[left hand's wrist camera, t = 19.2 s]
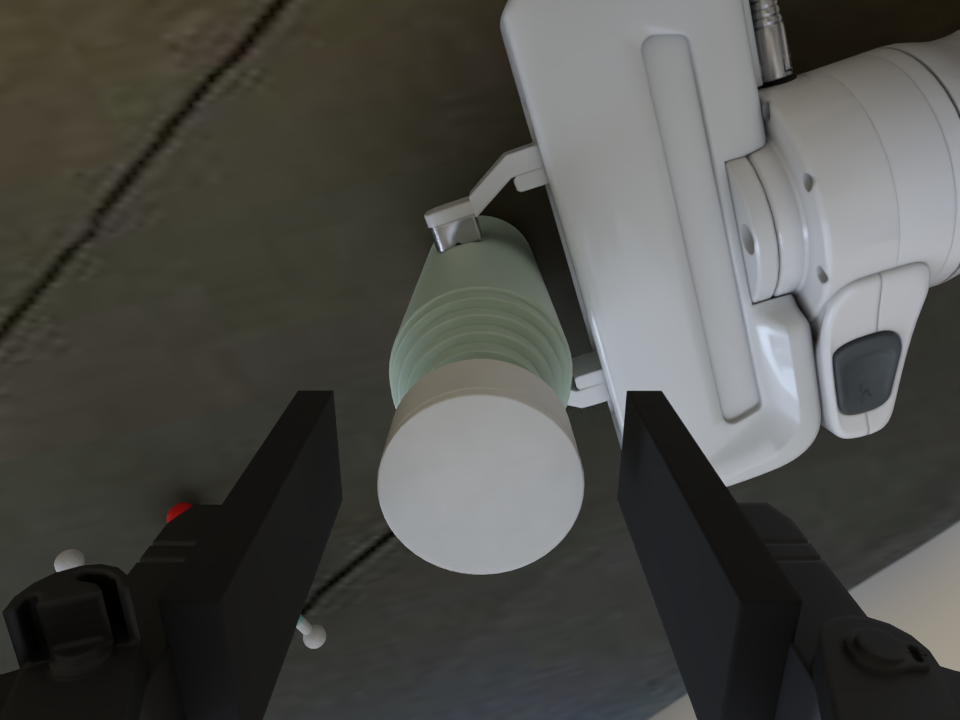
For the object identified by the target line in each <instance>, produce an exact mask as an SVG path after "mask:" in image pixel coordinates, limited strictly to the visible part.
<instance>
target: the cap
mask: <svg viewBox="0 0 960 720" xmlns="http://www.w3.org/2000/svg"><path fill="white" fill-rule="evenodd" d="M377 489H378V497H379V502H380V506H381V509H382V512H383V515H384V517H385V519H386V521H387V523H388V525H389V526H390V528H391V529H392V531H393V532H394V534H395V535H396V536H397V538H398V539H399V540H400V541H401V542H402V543H403V544H404V545H405V546H406V547H407V548H409V549H410V550H411V551H412V552H413V553H415V554H416V555H418V556H419V557H421V558H422V559H424V560H426V561H428V562H430V563H432V564H434V565H436V566H439V567H442V568H445V569H447V570H451V571H456V572H460V573H468V574H494V573H501V572H506V571H511V570H514V569H517V568H520V567H523V566H525V565H528V564H530V563H532V562H534V561H536V560H538V559H539V558H541V557H542V556H544V555H546V554H547V553H548V552H549V551H551V550H552V549H553V548H554V547H556V546H557V545H558V544H559V543H560V541H561V540H562V539H563V538H564V537H565V536H566V534H567V533H568V532H569V530H570V529H571V527H572V526H573V524H574V522H575V520H576V518H577V516H578V513H579V511H580V508H581V505H582V500H583V496H584V471H583V467H582V463H581V459H580V455H579V452H578V449H577V445H576V442H575V438H574V435H573V432H572V428H571V425H570V421H569V418H568V416H567V413H566V410H565V408H564V406H563V404H562V403H561V401H560V399H559V398H558V396H557V395H556V394H555V393H554V391H553V390H552V389H551V388H550V387H549V386H548V385H547V384H546V383H545V382H544V381H543V380H541V379H540V378H539V377H537V376H536V375H535V374H533V373H531V372H530V371H528V370H526V369H524V368H522V367H519V366H517V365H514V364H512V363H508V362H504V361H500V360H493V359H469V360H462V361H458V362H454V363H450V364H447V365H445V366H442V367H439V368H438V369H436V370H434V371H432V372H430V373H428V374H427V375H426V376H424V377H423V378H421V379H420V380H419V381H418V382H417V383H416V384H414V385H413V386H412V387H411V388H410V390H409V391H408V392H407V393H406V394H405V396H404V397H403V399H402V400H401V402H400V404H399V405H398V407H397V410H396V412H395V414H394V417H393V420H392V424H391V427H390V430H389V434H388V437H387V441H386V444H385V447H384V451H383V454H382V458H381V461H380V465H379V469H378V478H377Z"/></svg>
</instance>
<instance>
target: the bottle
mask: <svg viewBox="0 0 960 720" xmlns="http://www.w3.org/2000/svg"><path fill="white" fill-rule="evenodd" d="M477 218H478V221H479V225H480V228H481V231H482V234H481V235H482V239H480V240H477V241H474V242H471V243H466V244H461V243H457V244H456V246H455V247H453V248H451V249H449V250H447V251H443V252H437V249H436V247H435V244H434V243H433V245H432V247H431V249H430V252H429V254H428V257H427V260H426V262H425V265H424V267H423V270H422V272H421V275H420V278H419V280H418V283H417V285H416V288H415V290H414V293H413V296H412V298H411V301H410V303H409V306H408V308H407V311H406V314H405V316H404V319H403V321H402V324H401V326H400V329H399V332H398V334H397V337H396V339H395V342H394V345H393V348H392V351H391V356H390V362H389V379H390V386H391V392H392V397H393V401H394V405H395V408H396V410H397V407H398V405H399V404H400V402H401V400H402V399H403V397H404V396H405V394H406V393H407V392H408V391H409V390H410V388H411V387H412V386H413V385H414V384H416V383H417V382H418V381H419V380H420V379H421V378H423V377H424V376H426V375H427V374H428V373H430V372H432V371H434V370H436V369H438V368H439V367H442V366H445V365H447V364H450V363H454V362H458V361H462V360H469V359H493V360H500V361H504V362H508V363H512V364H514V365H517V366H519V367H522V368H524V369H526V370H528V371H530V372H531V373H533V374H535V375H536V376H537V377H539V378H540V379H541V380H543V381H544V382H545V383H546V384H547V385H548V386H549V387H550V388H551V389H552V390H553V391H554V393H555V394H556V395H557V396H558V398H559V399H560V401H561V403H562V404H563V406H564V408H565V409H566V407H567V403H568V400H569V396H570V389H571V384H572V376H573V374H572V359H571V353H570V349H569V346H568V343H567V340H566V338H565V335H564V332H563V330H562V327H561V325H560V322H559V320H558V317H557V314H556V312H555V309H554V307H553V304H552V302H551V299H550V296H549V294H548V291H547V289H546V286H545V284H544V281H543V278H542V276H541V273H540V271H539V268H538V266H537V263H536V261H535V258H534V255H533V253H532V250H531V248H530V246H529V244H528V242H527V241H526V239H525V237H524V236H523V235H522V234H521V233H520V232H519V231H518V230H517V229H516V228H515V227H514V226H512V225H511V224H509V223H507V222H505V221H504V220H501V219H498V218H495V217H491V216H477Z"/></svg>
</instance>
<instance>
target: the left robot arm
mask: <svg viewBox="0 0 960 720" xmlns="http://www.w3.org/2000/svg"><path fill="white" fill-rule="evenodd" d="M341 502H342V487H341V476H340V464H339V452H338V440H337V429H336V417H335V405H334V393H333V391H298V392H297V393H296V395H295V396H294V398H293V399H292V401H291V402H290V404H289V405H288V407H287V408H286V410H285V411H284V413H283V414H282V416H281V417H280V419H279V420H278V422H277V423H276V425H275V426H274V428H273V429H272V431H271V432H270V434H269V435H268V437H267V438H266V440H265V441H264V443H263V444H262V446H261V447H260V449H259V450H258V452H257V453H256V455H255V456H254V458H253V459H252V461H251V462H250V464H249V465H248V467H247V468H246V470H245V471H244V472H243V474H242V475H241V477H240V478H239V480H238V481H237V483H236V484H235V486H234V487H233V489H232V490H231V492H230V493H229V495H228V496H227V498H226V499H225V501H224V502H223V504H222V505H193V506H191V507H190V508H188V509H187V510H185V511H184V512H182V513H181V514H180V515H178V516H177V517H175V518H174V519H172V520H171V521H169V522H168V523H167V525H166V526H165V527H164V529H163V530H162V531H161V532H160V534H159V535H158V536H157V538H156V539H155V540H154V541H153V546H150V547H149V548H148V549H147V551H146V552H145V553H144V554H143V556H142V557H141V558H140V563H136V565H135V566H134V567H133V569H132V570H131V571H130V572H129V574H128V575H126V574H125V573H124V572H123V571H121V570H120V569H119V568H118V567H113V566H108V565H103V564H97V565H84V566H78V567H74V568H70V569H67V570H63V571H60V572H56V573H54V574H52V575H50V576H48V577H46V578H43V579H41V580H39V581H37V582H35V583H33V584H32V585H30V586H29V587H28V588H26V589H25V590H24V591H22V592H21V593H19V594H18V595H17V596H15V597H14V598H13V600H12V601H11V602H10V603H9V605H8V606H7V607H6V608H5V610H4V611H3V612H2V613H3V616H4V619H5V622H6V625H7V628H8V631H9V635H10V638H11V641H12V644H13V647H14V650H15V653H16V657H17V660H18V663H19V666H20V669H19V670H15V671H12V672H9V673H5V674H1V675H0V720H263V717H264V714H265V712H266V709H267V706H268V703H269V701H270V698H271V695H272V692H273V689H274V687H275V684H276V681H277V678H278V676H279V673H280V670H281V667H282V665H283V662H284V659H285V656H286V654H287V651H288V648H289V645H290V643H291V640H292V637H293V634H294V632H295V629H296V626H297V623H298V621H299V618H300V615H301V612H302V609H303V607H304V604H305V601H306V598H307V596H308V593H309V590H310V587H311V585H312V582H313V579H314V576H315V574H316V571H317V568H318V565H319V563H320V560H321V557H322V554H323V552H324V549H325V546H326V543H327V541H328V538H329V535H330V532H331V529H332V527H333V524H334V521H335V518H336V516H337V513H338V510H339V507H340V505H341ZM618 502H619V505H620V507H621V510H622V513H623V516H624V518H625V521H626V524H627V527H628V529H629V532H630V535H631V538H632V541H633V543H634V546H635V549H636V552H637V554H638V557H639V560H640V563H641V565H642V568H643V571H644V574H645V576H646V579H647V582H648V585H649V587H650V590H651V593H652V596H653V598H654V601H655V604H656V607H657V609H658V612H659V615H660V618H661V621H662V623H663V626H664V629H665V632H666V634H667V637H668V640H669V643H670V645H671V648H672V651H673V654H674V656H675V659H676V662H677V665H678V667H679V670H680V673H681V676H682V678H683V681H684V684H685V687H686V689H687V692H688V695H689V698H690V700H691V703H692V706H693V709H694V712H695V714H696V717H697V720H960V672H958V671H954V670H951V669H947V668H944V667H941V666H939V664H938V663H937V661H936V660H935V658H934V657H933V655H932V654H931V652H930V651H929V650H928V649H927V648H926V647H924V646H923V645H922V644H921V643H920V642H918V641H917V640H916V639H915V638H914V637H912V636H911V635H909V634H907V633H906V632H904V631H902V630H900V629H898V628H896V627H894V626H892V625H891V624H888V623H885V622H882V621H879V620H876V619H872V618H869V617H867V616H866V614H865V613H864V612H863V611H862V609H861V608H860V607H859V605H858V604H857V603H856V602H855V600H854V599H853V598H852V597H851V595H850V594H849V593H848V591H847V590H846V589H845V588H844V586H843V585H842V584H841V582H840V581H839V580H838V579H837V577H836V576H835V575H834V573H833V572H832V571H831V570H830V568H829V567H828V566H827V564H826V563H825V562H824V561H821V560H820V555H819V554H818V553H817V552H816V550H815V549H814V548H813V546H812V545H811V544H808V543H807V539H806V537H805V536H804V535H803V534H802V532H801V531H800V530H799V528H798V527H797V526H796V525H795V523H794V522H793V521H792V520H791V519H790V518H788V517H787V516H785V515H784V514H782V513H781V512H779V511H778V510H777V509H775V508H774V507H772V506H771V505H769V504H768V503H737V502H736V501H735V499H734V498H733V496H732V495H731V493H730V492H729V490H728V489H727V487H726V486H725V484H724V483H723V481H722V480H721V478H720V477H719V475H718V474H717V472H716V471H715V470H714V468H713V467H712V465H711V464H710V462H709V461H708V459H707V458H706V456H705V455H704V453H703V452H702V450H701V449H700V447H699V446H698V444H697V443H696V441H695V440H694V438H693V437H692V435H691V434H690V432H689V431H688V429H687V428H686V426H685V425H684V423H683V422H682V420H681V419H680V417H679V416H678V414H677V413H676V411H675V410H674V408H673V407H672V405H671V404H670V402H669V401H668V399H667V398H666V396H665V395H664V393H663V392H662V391H627V393H626V405H625V417H624V429H623V440H622V452H621V464H620V476H619V487H618Z"/></svg>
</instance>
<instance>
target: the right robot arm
mask: <svg viewBox="0 0 960 720" xmlns="http://www.w3.org/2000/svg"><path fill="white" fill-rule="evenodd" d="M778 3H779V0H508V1H507V3H506V5H505V8H504V10H503V13H502V16H501V19H500V30H501V34H502V37H503V41H504V45H505V48H506V52H507V55H508V58H509V62H510V65H511V69H512V72H513V76H514V79H515V83H516V86H517V90H518V93H519V97H520V100H521V104H522V107H523V110H524V114H525V117H526V121H527V124H528V128H529V131H530V135H531V138H532V143H530V144H527V145H524V146H521V147H518V148H515V149H513V150H510V151H507V152H504V153H503V154H502V155H501V156H500V157H499V158H498V160H497V161H496V162H495V163H494V164H493V165H492V167H491V168H490V169H489V170H488V171H487V172H486V174H485V175H484V176H483V177H482V178H481V179H480V181H479V182H478V183H477V184H476V185H475V186H474V188H473V189H472V190H471V191H470V193H469V196H467V197H464V198H461V199H458V200H455V201H452V202H450V203H447V204H444V205H441V206H438V207H435V208H433V209H431V210H429V211H427V212H426V213H425V215H424V216H425V219H426V222H427V225H428V228H429V231H430V233H431V236H432V239H433V241H434V244H435V247H436V249H437V252H443V251H447V250H449V249H451V248H453V247H455V246H456V244H457V243H461V244H466V243H471V242H474V241H477V240H480V239H482V235H481V234H482V231H481V228H480V225H479V221H478V218H477V216H478V215H479V214H480V213H481V212H482V211H483V210H484V208H485V207H486V206H487V205H488V204H489V203H490V202H491V201H492V199H493V198H494V197H495V196H496V195H497V194H498V193H499V192H500V190H501V189H502V188H503V187H504V186H505V185H506V184H507V183H508V181H509V180H510V179H511V178H512V179H513V183H514V185H515V187H516V189H517V191H519V192H523V191H526V190H529V189H533V188H536V187H539V186H542V185H545V187H546V190H547V194H548V197H549V201H550V204H551V208H552V211H553V215H554V218H555V221H556V225H557V228H558V232H559V235H560V239H561V242H562V246H563V249H564V253H565V256H566V260H567V263H568V267H569V270H570V273H571V277H572V280H573V284H574V287H575V291H576V294H577V298H578V301H579V305H580V308H581V312H582V315H583V319H584V322H585V326H586V329H587V332H588V336H589V339H590V343H591V346H592V350H593V352H590V353H587V354H583V355H580V356H577V357H574V358H571V359H572V374H573V376H572V384H571V389H570V396H569V400H568V403H567V405H570V406H575V407H579V408H584V407H588V406H591V405H595V404H598V403H602V402H605V401H607V402H608V405H609V409H610V412H611V416H612V419H613V423H614V426H615V430H616V433H617V436H618V440H619V443H620V447H621V450H622V440H623V429H624V417H625V405H626V393H627V391H662V392H663V393H664V395H665V396H666V398H667V399H668V401H669V402H670V404H671V405H672V407H673V408H674V410H675V411H676V413H677V414H678V416H679V417H680V419H681V420H682V422H683V423H684V425H685V426H686V428H687V429H688V431H689V432H690V434H691V435H692V437H693V438H694V440H695V441H696V443H697V444H698V446H699V447H700V449H701V450H702V452H703V453H704V455H705V456H706V458H707V459H708V461H709V462H710V464H711V465H712V467H713V468H714V470H715V471H716V472H717V474H718V475H719V477H720V478H721V480H722V481H723V483H724V484H725V486H726V487H727V486H730V485H733V484H736V483H739V482H742V481H745V480H748V479H751V478H754V477H756V476H759V475H762V474H764V473H767V472H769V471H772V470H774V469H777V468H779V467H781V466H783V465H785V464H787V463H789V462H791V461H793V460H794V459H796V458H797V457H798V456H800V455H801V454H802V453H803V452H804V451H806V450H807V449H808V448H809V446H810V445H811V444H812V442H813V441H814V440H815V438H816V436H817V434H818V431H819V428H820V424H821V425H822V426H824V427H825V428H826V429H828V430H829V431H831V432H832V433H834V434H835V435H837V436H838V437H841V438H846V439H849V438H857V437H861V436H865V435H869V434H872V433H874V432H876V431H878V430H880V429H882V428H883V427H884V426H885V425H886V424H887V422H888V421H889V419H890V417H891V414H892V412H893V408H894V404H895V400H896V395H897V391H898V386H899V382H900V378H901V374H902V370H903V366H904V362H905V358H906V354H907V351H908V347H909V344H910V340H911V337H912V334H913V331H914V328H915V325H916V322H917V319H918V316H919V314H920V311H921V308H922V306H923V303H924V301H925V298H926V296H927V293H928V289H929V288H930V287H933V286H936V285H939V284H941V283H944V282H946V281H948V280H950V279H951V278H953V277H955V276H957V275H958V274H960V29H959V30H958V31H956V32H954V33H952V34H950V35H948V36H946V37H943V38H940V39H937V40H934V41H929V42H914V43H897V44H891V45H887V46H883V47H879V48H875V49H872V50H870V51H867V52H864V53H861V54H858V55H855V56H852V57H850V58H847V59H844V60H841V61H838V62H835V63H832V64H829V65H826V66H823V67H820V68H817V69H815V70H812V71H809V72H805V73H802V74H799V75H794V72H793V67H792V59H791V55H790V48H789V42H788V35H787V30H786V25H785V21H783V19H784V17H783V14H782V13H781V7H780V4H778ZM763 84H764V85H763ZM759 86H761V88H760V89H758V88H757V87H759Z"/></svg>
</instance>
